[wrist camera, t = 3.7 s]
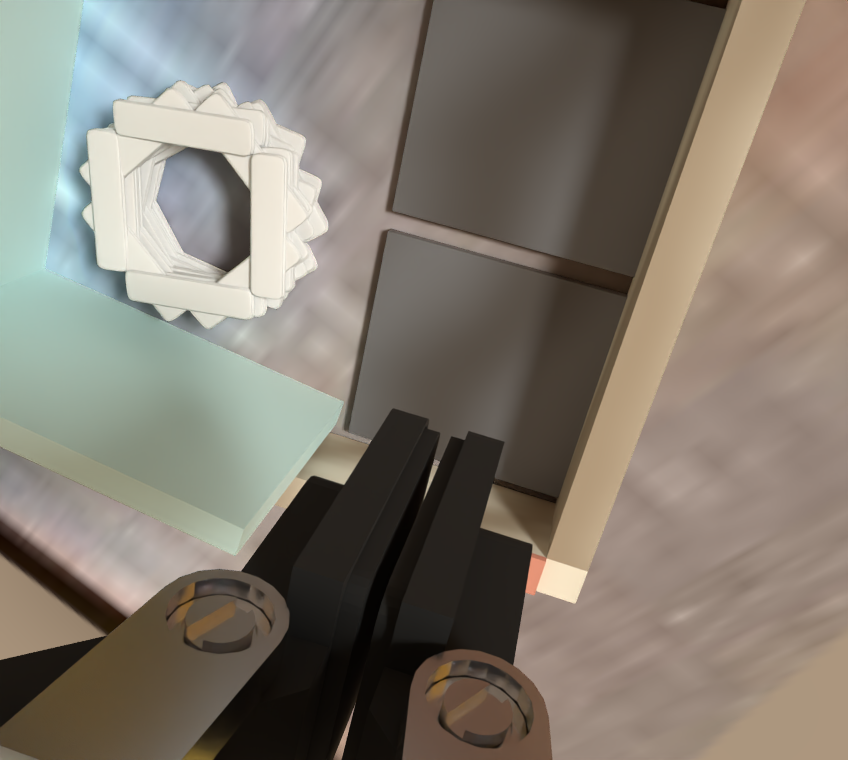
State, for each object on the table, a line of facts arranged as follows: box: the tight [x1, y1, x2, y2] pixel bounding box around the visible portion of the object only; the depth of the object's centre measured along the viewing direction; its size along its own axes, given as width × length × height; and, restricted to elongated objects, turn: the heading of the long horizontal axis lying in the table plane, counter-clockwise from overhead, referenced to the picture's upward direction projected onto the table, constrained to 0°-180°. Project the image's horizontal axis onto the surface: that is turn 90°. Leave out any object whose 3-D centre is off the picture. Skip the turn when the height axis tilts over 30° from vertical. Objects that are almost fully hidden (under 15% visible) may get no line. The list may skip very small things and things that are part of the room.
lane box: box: [275, 0, 806, 603], centre depth 22 cm, size 32×17×5 cm, turn 78°
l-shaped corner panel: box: [0, 0, 344, 556], centre depth 21 cm, size 12×12×8 cm
